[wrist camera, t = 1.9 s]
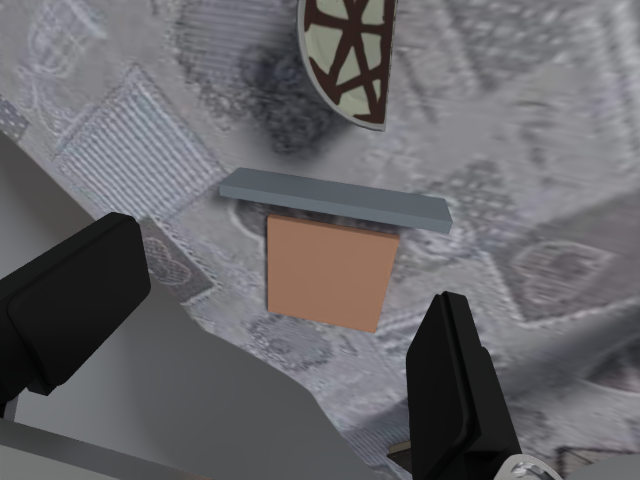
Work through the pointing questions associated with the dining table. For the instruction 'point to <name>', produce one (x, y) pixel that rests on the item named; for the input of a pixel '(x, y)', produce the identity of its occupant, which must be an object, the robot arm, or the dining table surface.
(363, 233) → the mat
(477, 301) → the dining table surface
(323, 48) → the food container
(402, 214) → the acrylic wall
